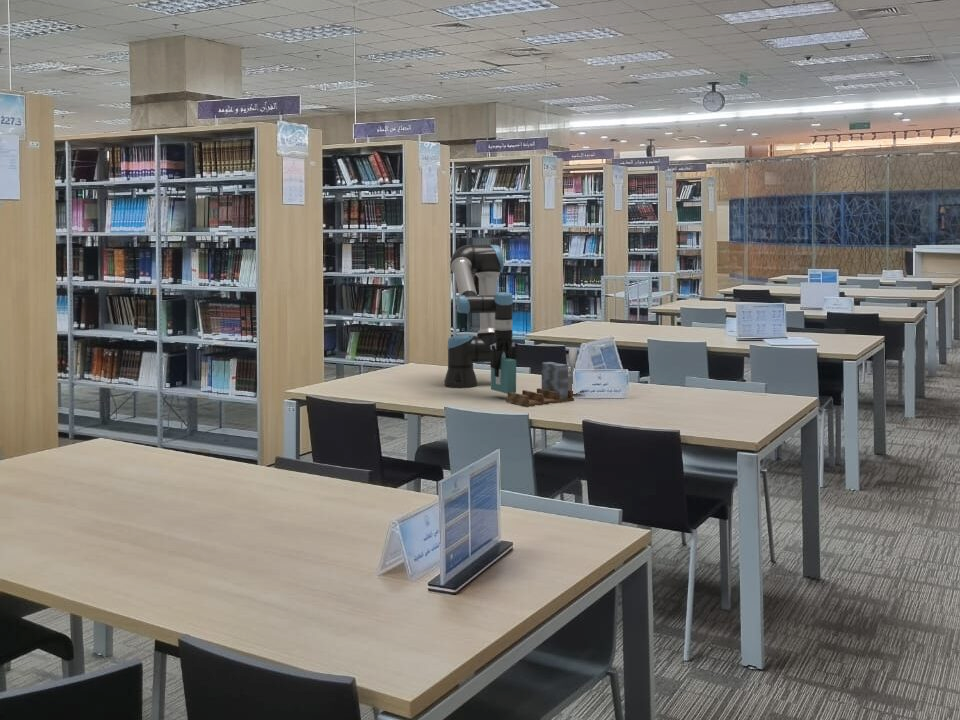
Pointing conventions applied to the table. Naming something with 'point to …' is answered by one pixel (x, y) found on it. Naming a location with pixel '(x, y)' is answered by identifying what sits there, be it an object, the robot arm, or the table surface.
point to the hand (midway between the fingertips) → (503, 383)
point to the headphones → (572, 361)
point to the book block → (505, 376)
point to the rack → (546, 388)
